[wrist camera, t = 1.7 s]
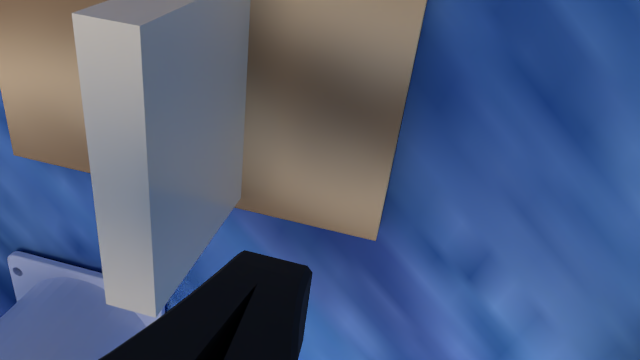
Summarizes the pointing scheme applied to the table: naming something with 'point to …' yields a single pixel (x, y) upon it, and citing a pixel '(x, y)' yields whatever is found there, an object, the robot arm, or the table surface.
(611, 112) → the table surface
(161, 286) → the tile
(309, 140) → the cork board
